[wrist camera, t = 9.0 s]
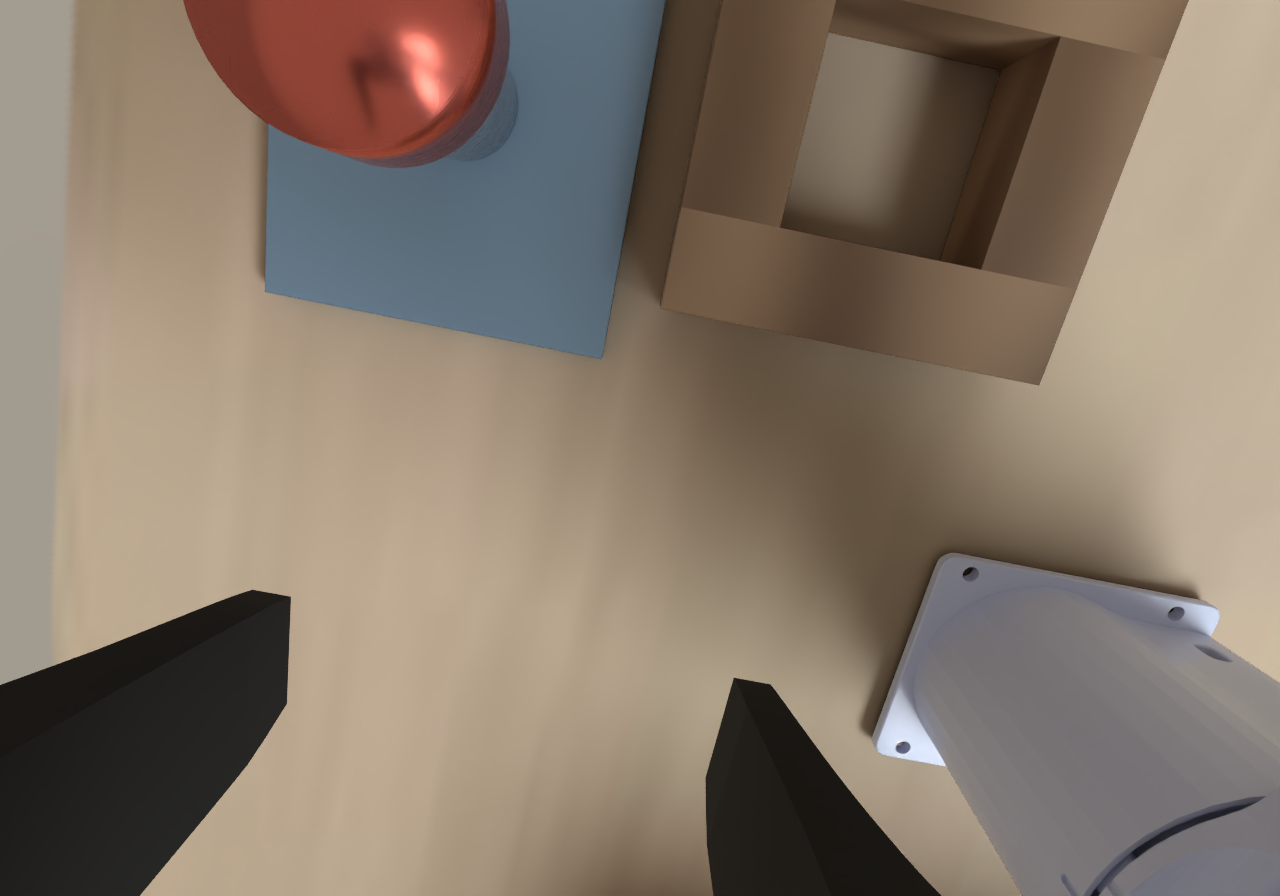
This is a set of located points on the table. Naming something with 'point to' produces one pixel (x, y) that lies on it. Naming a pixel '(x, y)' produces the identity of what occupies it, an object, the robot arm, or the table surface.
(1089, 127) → the eye block
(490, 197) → the mat
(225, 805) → the table surface
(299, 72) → the red mushroom head
